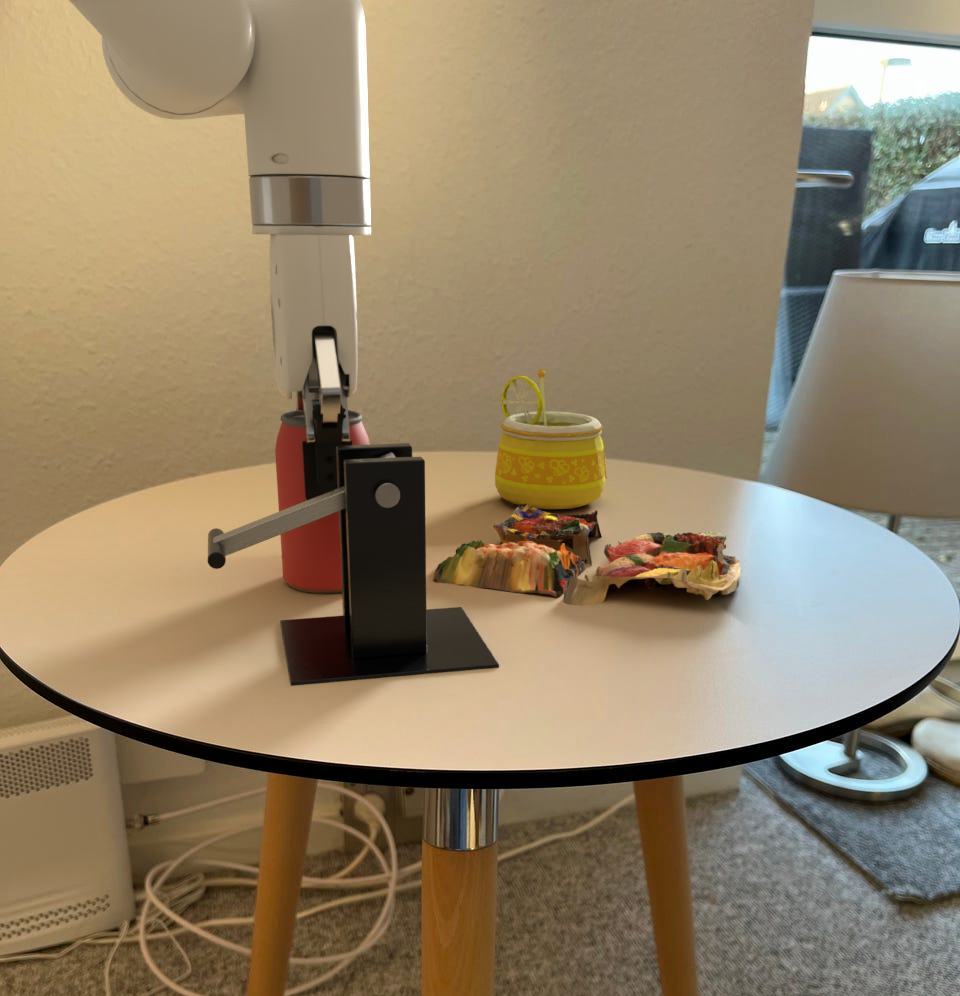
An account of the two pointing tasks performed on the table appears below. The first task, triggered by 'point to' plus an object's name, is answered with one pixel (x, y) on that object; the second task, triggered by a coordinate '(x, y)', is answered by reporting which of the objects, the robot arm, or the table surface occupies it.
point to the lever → (274, 524)
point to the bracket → (382, 584)
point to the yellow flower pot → (548, 454)
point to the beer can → (315, 544)
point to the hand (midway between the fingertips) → (324, 485)
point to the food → (587, 559)
